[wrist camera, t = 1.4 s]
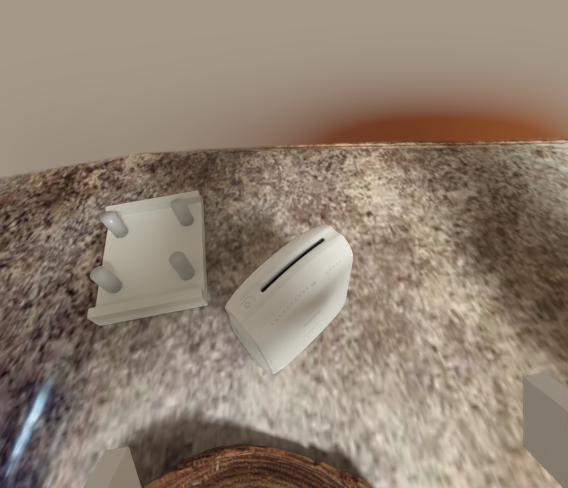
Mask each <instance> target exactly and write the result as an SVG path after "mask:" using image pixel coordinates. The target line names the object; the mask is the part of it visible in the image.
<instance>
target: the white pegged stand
mask: <svg viewBox="0 0 568 488" xmlns="http://www.w3.org/2000/svg"><path fill="white" fill-rule="evenodd" d="M100 220H101V221H102V223H103V224H104V225H105V226H106V227H107V228H108V232H107V238H106V244H105V251H104V257H103V263H102V266H98V267H96V268H94V269H93V270H92V272H91V274H90V278H91V279H92V280H93V281H94V282H96V283H97V284H98V285H99V288H98V294H97V301H96V307H94V308H89V310H88V316H87V319H89V320H91V321H92V322H94V323H96V324H97V325H99V326H103V325H108V324H113V323H118V322H123V321H129V320H134V319H139V318H144V317H150V316H155V315H160V314H165V313H171V312H176V311H181V310H186V309H192V308H197V307H202V306H207V305H208V296H207V273H206V250H205V227H204V204H203V200H202V198H201V195H200V193H199V191H198V190H196V191H190V192H184V193H179V194H173V195H168V196H162V197H157V198H151V199H146V200H140V201H135V202H129V203H124V204H118V205H113V206H107V207H106V211H105V213H103V214H102V216H101V218H100Z"/></svg>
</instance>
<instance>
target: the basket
mask: <svg viewBox="0 0 568 488" xmlns="http://www.w3.org/2000/svg"><path fill="white" fill-rule="evenodd" d="M143 488H372V487H371V486H370V485H369V484H368V483H366V482H365V481H363V480H362V479H360V478H359V477H353V476H352V475H350V474H349V473H348V472H343V471H339V470H337V469H335V468H333V467H331V466H329V465H327V464H325V463H323V462H321V461H320V462H318V463H316V462H314V461H313V460H311V459H310V458H308V457H305V456H303V455H299V454H295V453H292V452H288V451H285V450H281V449H277V448H272V447H265V446H257V445H245V444H240V445H233V446H227V447H225V446H221V447H217V448H213V449H210V450H208V451H205V452H203V453H200V454H198V455H195V456H192V457H190V458H188V459H187V460H185V461H183V462H180V463H177V464H175V465H174V466H172V467H171V468H169V469H167V470H166V471H165V472H164V473H163V474H161V475H160V476H158V477H157V478H156V479H154V480H153V481H152V482H150V483H149V484H147V485H146V486H145V487H143Z"/></svg>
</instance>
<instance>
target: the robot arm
mask: <svg viewBox="0 0 568 488" xmlns="http://www.w3.org/2000/svg"><path fill="white" fill-rule="evenodd" d="M523 438H524V447H525V448H526V449H527V450H528V451H529V452H530V453H531V455H532V456H533V457H534V458H535V459H536V460H537V461H538V462H539V463H540V464H541V465H542V466H543V467H544V468H545V469H546V470H547V471H548V472H549V473H550V474H551V475H552V476H553V478H554V479H555V480H556V481H557V482H558V483H559V484H560V485H561V486H562V487H563V488H568V388H567V387H566V386H564V385H563V384H561V383H560V382H558V381H557V380H556V379H554V378H553V377H551V376H550V375H548V374H547V373H545V372H544V373H539V374H533V375H527V376H523ZM83 488H141V485H140V482H139V478H138V475H137V472H136V469H135V465H134V462H133V459H132V455H131V452H130V449H129V447H123V448H118V449H112V450H106V451H105V452H104V454H103V455H102V457H101V459H100V460H99V462H98V464H97V465H96V467H95V469H94V471H93V472H92V474H91V476H90V477H89V479H88V481H87V482H86V484H85V486H84V487H83Z"/></svg>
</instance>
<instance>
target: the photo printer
mask: <svg viewBox="0 0 568 488" xmlns="http://www.w3.org/2000/svg"><path fill="white" fill-rule="evenodd" d="M352 262H353V253H352V250H351V248H350V245H349V244H348V242H347V241H346V239H345V238H344V237H343V236H342V235H341V234H339V233H337V232H336V231H335V230H334V229H333V228H332V227H331V226H329V225H320V226H318V227H315V228H313V229H310V230H308V231H306V232H305V233H303V234H301V235H300V236H298V237H297V238H295V239H294V240H292V241H291V242H289V243H288V244H286V245H285V246H283V247H282V248H281V249H280V250H279V251H277V252H276V253H274V254H273V255H272V256H271V257H270V258H269V259H268V260H266V261H265V262H264V263H263V264H262V265H261V266H260V267H258V268H257V269H256V270H255V271H254V272H253V273H252V274H251V275H250V276H249V277H248V278H247V279H246V280H245V281H244V282H243V283H242V284H241V286H240V287H239V288H238V289H237V290H236V291H235V293H234V294H233V295H232V297H231V298H230V299H229V301H228V302H227V304H226V306H225V310H226V312H227V313H228V315H229V319H230V323H231V326H232V329H233V330H234V332H235V334H236V335H237V337H238V338H239V339H240V341H241V342H242V344H243V345H244V347H245V348H246V349H247V351H248V352H249V354H250V355H251V356H252V358H253V359H254V361H255V362H256V363H257V365H258V366H259V367H261V368H262V369H264V370H267V371H272V373H273V374H275V373H277V372H278V371H280V370H281V369H283V368H284V367H285V366H286V365H288V364H289V363H290V362H291V361H292V360H293V359H294V358H295V357H296V356H297V355H298V354H300V353H301V352H302V351H303V350H304V349H305V348H306V347H307V346H308V345H309V344H310V343H311V342H312V341H313V340H314V339H315V338H316V337H317V336H318V335H319V334H320V333H321V332H322V331H323V330H324V328H325V327H326V326H327V325H328V324H329V323H330V322H331V321H332V320H333V319H334V318H335V317H336V316H337V314H338V313H339V312H340V310H341V309H342V307H343V306H344V304H345V300H346V295H347V289H348V284H349V279H350V273H351V268H352Z"/></svg>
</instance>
